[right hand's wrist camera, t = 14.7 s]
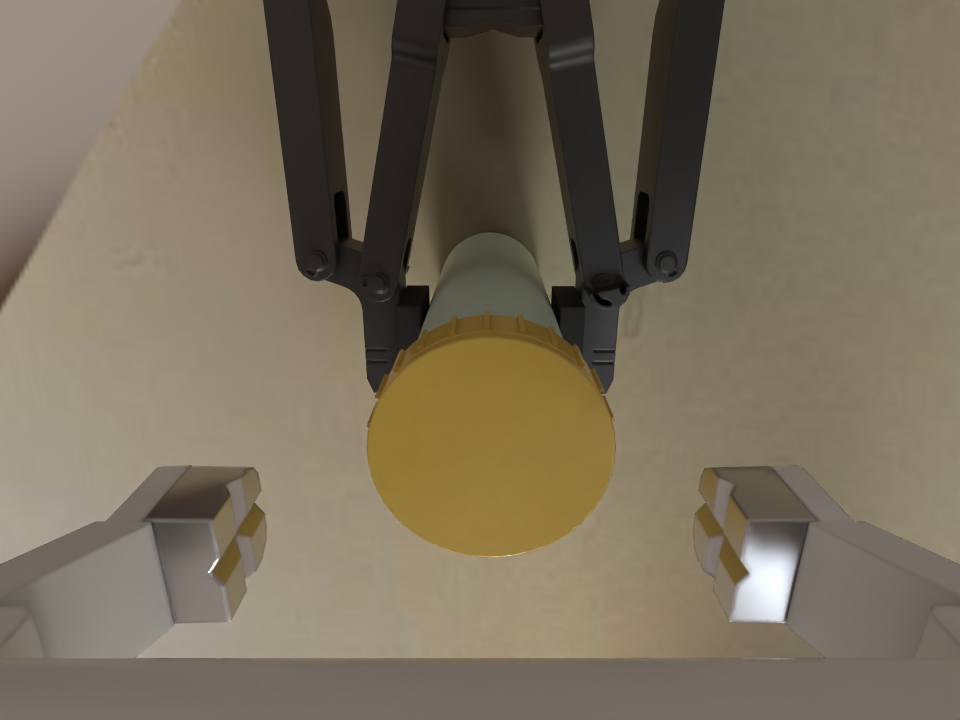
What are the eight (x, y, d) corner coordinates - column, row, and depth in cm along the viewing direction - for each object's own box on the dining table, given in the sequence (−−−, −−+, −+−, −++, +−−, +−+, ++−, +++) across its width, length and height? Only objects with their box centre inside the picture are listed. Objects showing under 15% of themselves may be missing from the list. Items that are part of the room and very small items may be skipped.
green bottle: (425, 303, 27) (357, 485, 13) (466, 215, 26) (438, 312, 12) (512, 343, 28) (535, 558, 14) (556, 258, 26) (632, 400, 12)
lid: (343, 466, 14) (326, 505, 13) (432, 269, 13) (424, 287, 11) (539, 547, 15) (544, 593, 13) (648, 370, 13) (668, 400, 12)
